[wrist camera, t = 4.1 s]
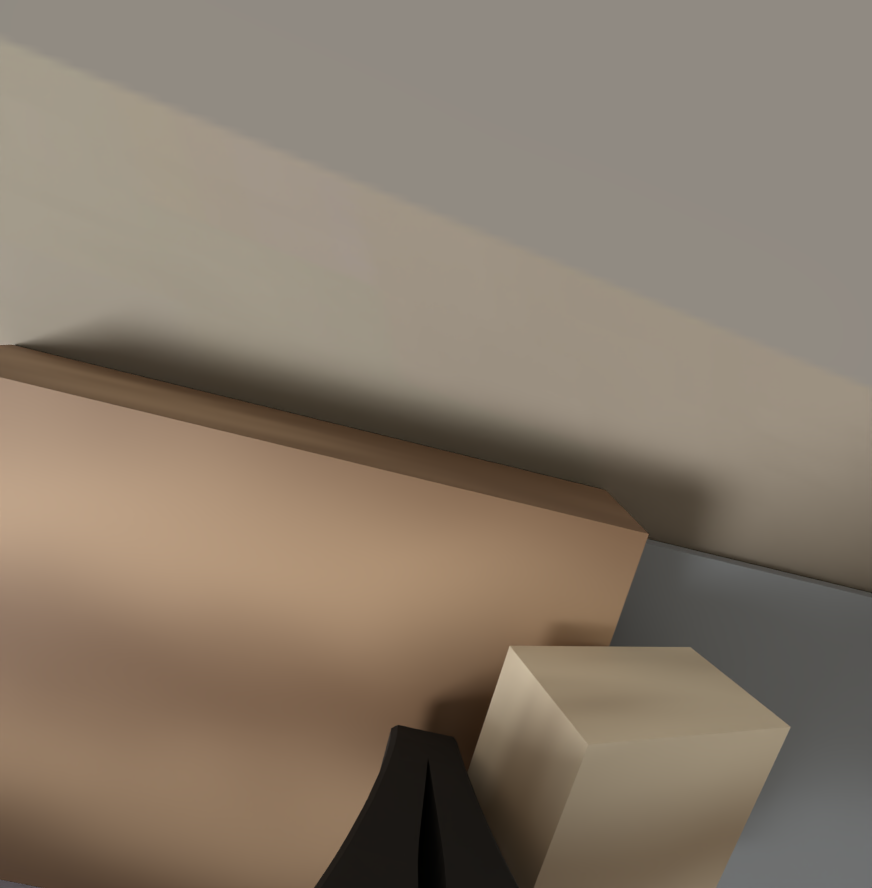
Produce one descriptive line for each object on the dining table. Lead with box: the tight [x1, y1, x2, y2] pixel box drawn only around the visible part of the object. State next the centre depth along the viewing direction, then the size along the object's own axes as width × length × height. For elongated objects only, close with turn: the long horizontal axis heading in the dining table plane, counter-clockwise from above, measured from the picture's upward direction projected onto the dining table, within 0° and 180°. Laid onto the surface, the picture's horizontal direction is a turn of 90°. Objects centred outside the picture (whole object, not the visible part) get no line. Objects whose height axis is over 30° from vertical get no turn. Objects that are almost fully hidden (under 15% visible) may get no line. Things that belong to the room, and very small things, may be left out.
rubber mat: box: [609, 539, 872, 888], centre depth 16 cm, size 13×12×1 cm
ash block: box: [467, 646, 791, 888], centre depth 11 cm, size 7×5×2 cm
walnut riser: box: [0, 345, 649, 888], centre depth 14 cm, size 12×15×3 cm
